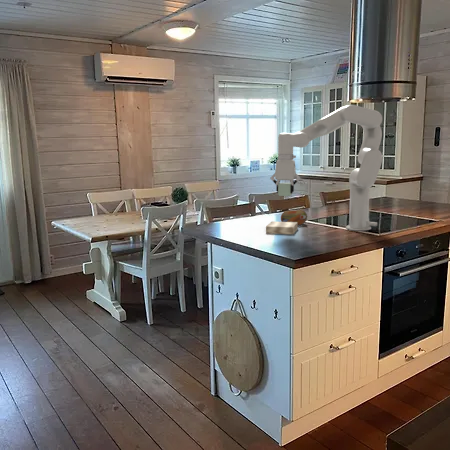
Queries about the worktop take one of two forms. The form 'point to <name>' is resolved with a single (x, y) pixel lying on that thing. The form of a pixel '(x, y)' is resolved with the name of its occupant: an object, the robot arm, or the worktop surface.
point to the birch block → (282, 227)
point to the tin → (294, 216)
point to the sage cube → (284, 189)
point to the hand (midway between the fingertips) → (285, 192)
